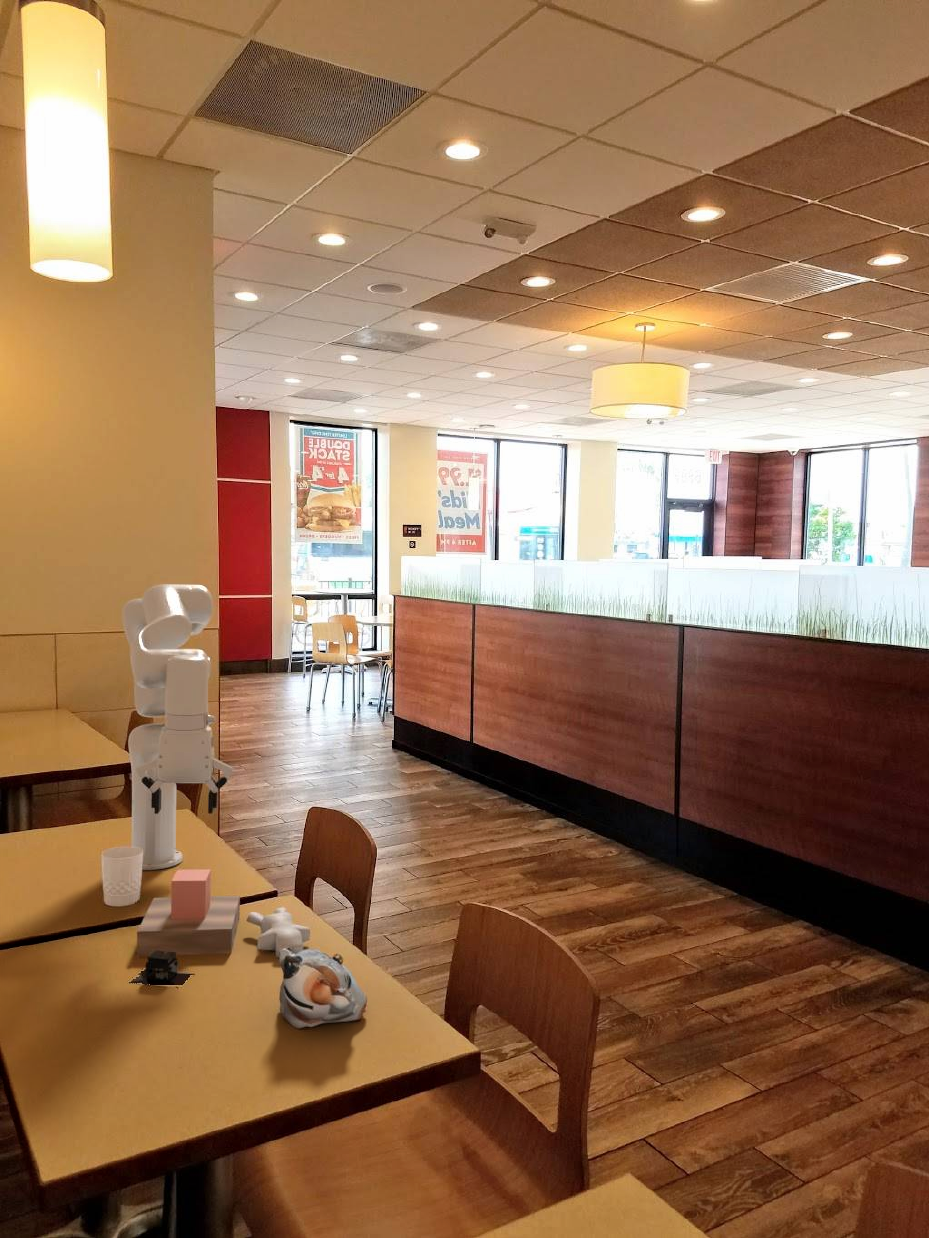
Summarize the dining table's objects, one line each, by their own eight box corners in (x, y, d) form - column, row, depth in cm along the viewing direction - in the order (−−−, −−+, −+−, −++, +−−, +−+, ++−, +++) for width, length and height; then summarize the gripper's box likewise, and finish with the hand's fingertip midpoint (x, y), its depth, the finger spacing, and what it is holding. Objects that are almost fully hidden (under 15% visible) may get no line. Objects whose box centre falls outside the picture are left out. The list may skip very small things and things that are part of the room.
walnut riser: (153, 923, 177) (153, 897, 176) (239, 920, 179) (239, 895, 179) (137, 959, 161) (137, 931, 161) (231, 956, 163) (231, 928, 163)
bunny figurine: (267, 943, 159) (242, 903, 171) (265, 970, 160) (240, 929, 172) (319, 933, 163) (290, 896, 176) (317, 960, 164) (289, 921, 177)
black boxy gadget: (206, 976, 155) (206, 949, 155) (186, 995, 148) (187, 968, 148) (137, 968, 157) (137, 942, 157) (114, 988, 150) (115, 960, 150)
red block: (177, 906, 172) (177, 869, 172) (210, 905, 173) (210, 869, 173) (171, 918, 166) (171, 880, 166) (205, 918, 167) (205, 880, 167)
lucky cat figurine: (384, 1010, 144) (381, 953, 137) (329, 1067, 136) (323, 1009, 129) (316, 959, 152) (310, 902, 144) (260, 1010, 144) (251, 952, 136)
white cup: (149, 895, 190) (149, 847, 189) (131, 909, 182) (132, 859, 181) (112, 892, 190) (113, 844, 190) (93, 906, 183) (93, 857, 182)
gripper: (235, 718, 176) (233, 805, 178) (141, 716, 174) (140, 805, 175) (232, 726, 169) (230, 817, 171) (133, 725, 166) (132, 817, 168)
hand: (184, 811), depth 173 cm, fingers open, 9 cm apart
